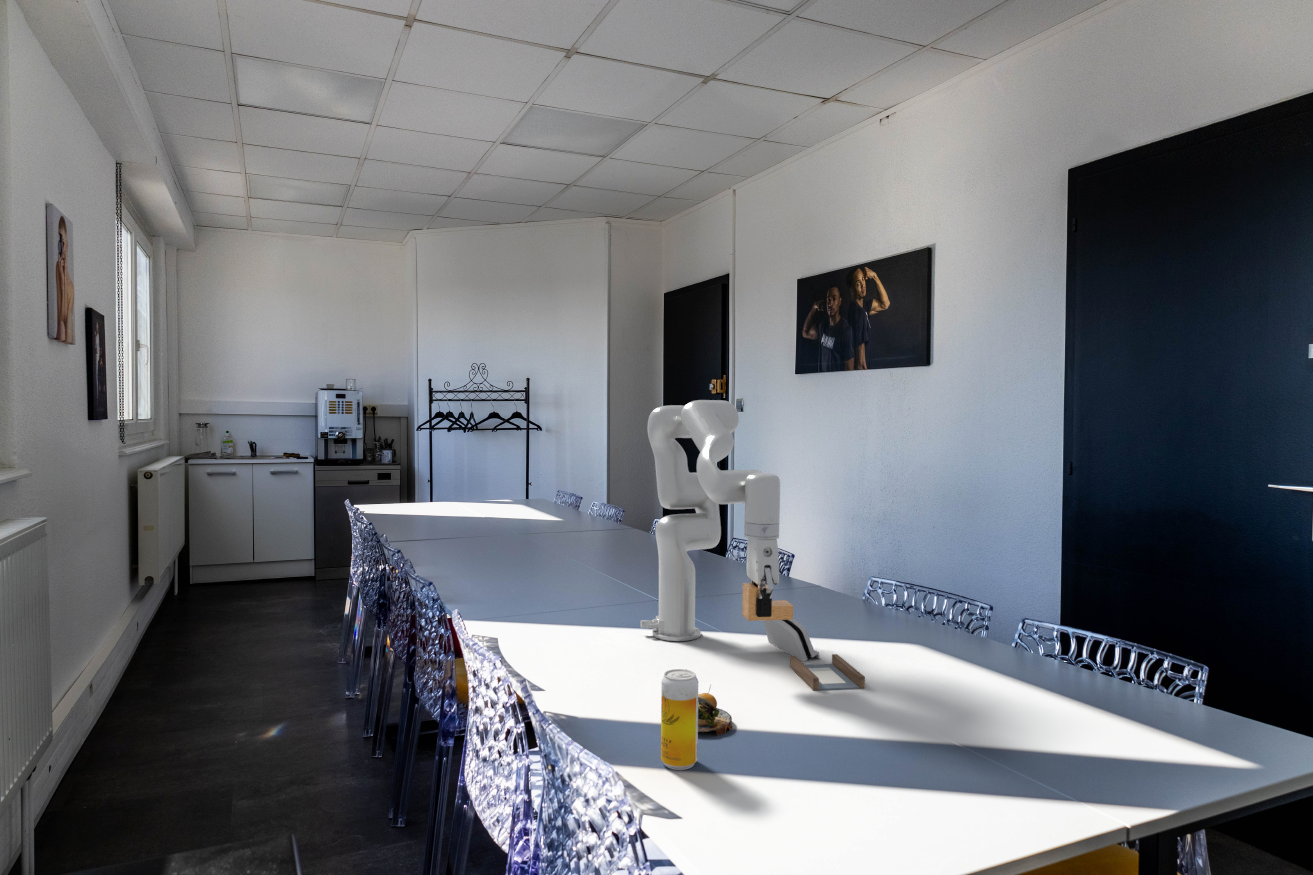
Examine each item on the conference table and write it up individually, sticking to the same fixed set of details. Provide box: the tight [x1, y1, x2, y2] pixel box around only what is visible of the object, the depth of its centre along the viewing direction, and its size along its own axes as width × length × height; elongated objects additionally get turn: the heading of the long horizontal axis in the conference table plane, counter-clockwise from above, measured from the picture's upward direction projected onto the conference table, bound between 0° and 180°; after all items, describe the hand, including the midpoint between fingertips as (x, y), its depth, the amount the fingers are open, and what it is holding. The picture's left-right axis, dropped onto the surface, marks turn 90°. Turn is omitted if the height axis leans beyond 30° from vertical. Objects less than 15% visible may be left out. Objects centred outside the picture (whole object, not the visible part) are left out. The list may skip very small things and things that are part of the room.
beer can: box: [660, 668, 699, 771], centre depth 134 cm, size 6×6×15 cm
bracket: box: [741, 582, 794, 622], centre depth 177 cm, size 10×5×7 cm, turn 99°
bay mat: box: [804, 663, 860, 691], centre depth 179 cm, size 9×16×1 cm, turn 9°
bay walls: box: [789, 653, 866, 692], centre depth 179 cm, size 11×16×2 cm
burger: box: [698, 685, 733, 736], centre depth 151 cm, size 12×12×8 cm
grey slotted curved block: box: [763, 618, 822, 662], centre depth 198 cm, size 17×5×10 cm, turn 22°
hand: (760, 612), depth 177 cm, fingers closed on bracket, 5 cm apart
